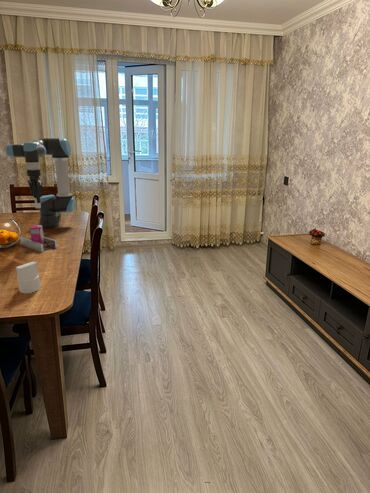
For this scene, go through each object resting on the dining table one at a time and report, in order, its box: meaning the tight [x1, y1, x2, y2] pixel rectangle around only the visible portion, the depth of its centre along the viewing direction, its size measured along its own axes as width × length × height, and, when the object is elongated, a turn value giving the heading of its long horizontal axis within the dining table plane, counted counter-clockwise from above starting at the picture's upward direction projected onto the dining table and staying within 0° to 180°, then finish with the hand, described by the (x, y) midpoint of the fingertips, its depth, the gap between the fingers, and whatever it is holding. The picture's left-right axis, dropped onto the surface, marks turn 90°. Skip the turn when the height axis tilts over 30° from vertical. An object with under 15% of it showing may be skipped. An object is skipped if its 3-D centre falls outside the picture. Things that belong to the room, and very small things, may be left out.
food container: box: [56, 212, 62, 221], centre depth 285 cm, size 12×6×10 cm, turn 71°
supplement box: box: [29, 224, 45, 244], centre depth 212 cm, size 6×6×12 cm
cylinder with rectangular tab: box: [15, 261, 41, 294], centre depth 157 cm, size 9×9×12 cm
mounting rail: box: [19, 236, 59, 253], centre depth 213 cm, size 24×12×6 cm, turn 53°
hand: (38, 207), depth 212 cm, fingers closed
